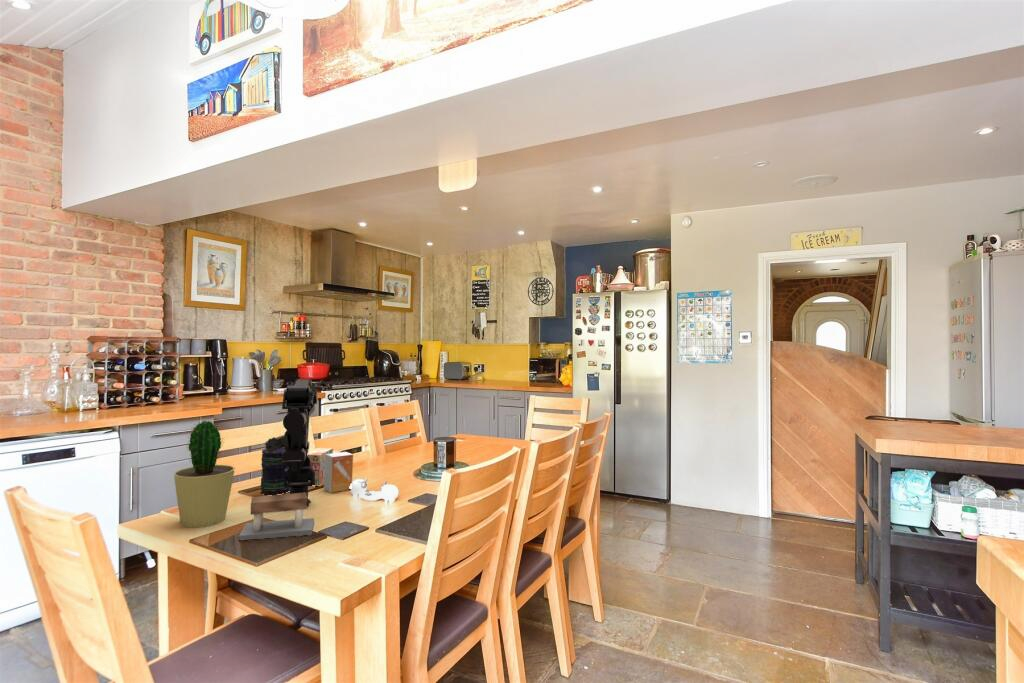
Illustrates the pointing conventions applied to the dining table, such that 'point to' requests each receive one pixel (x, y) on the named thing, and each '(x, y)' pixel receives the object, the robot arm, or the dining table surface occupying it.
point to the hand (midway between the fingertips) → (295, 478)
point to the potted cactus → (203, 480)
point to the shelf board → (278, 503)
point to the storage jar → (273, 473)
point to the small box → (338, 471)
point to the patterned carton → (319, 462)
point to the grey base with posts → (277, 527)
